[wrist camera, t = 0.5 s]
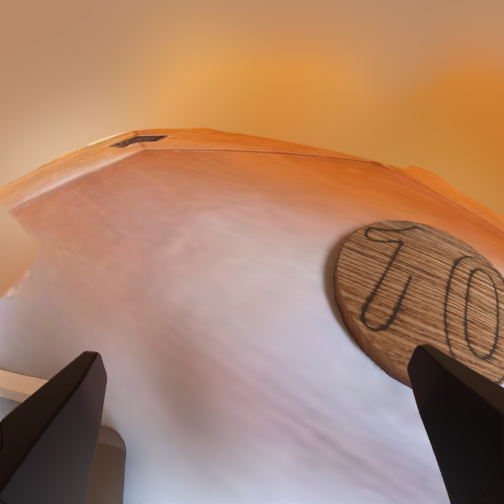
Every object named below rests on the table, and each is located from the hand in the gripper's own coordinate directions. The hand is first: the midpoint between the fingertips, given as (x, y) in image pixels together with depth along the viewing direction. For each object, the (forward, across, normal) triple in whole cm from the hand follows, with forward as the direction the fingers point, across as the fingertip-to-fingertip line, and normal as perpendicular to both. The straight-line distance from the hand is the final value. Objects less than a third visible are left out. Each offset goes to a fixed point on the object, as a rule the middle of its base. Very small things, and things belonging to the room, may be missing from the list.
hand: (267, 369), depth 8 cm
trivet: (+18, -22, +11) cm, 31 cm away
